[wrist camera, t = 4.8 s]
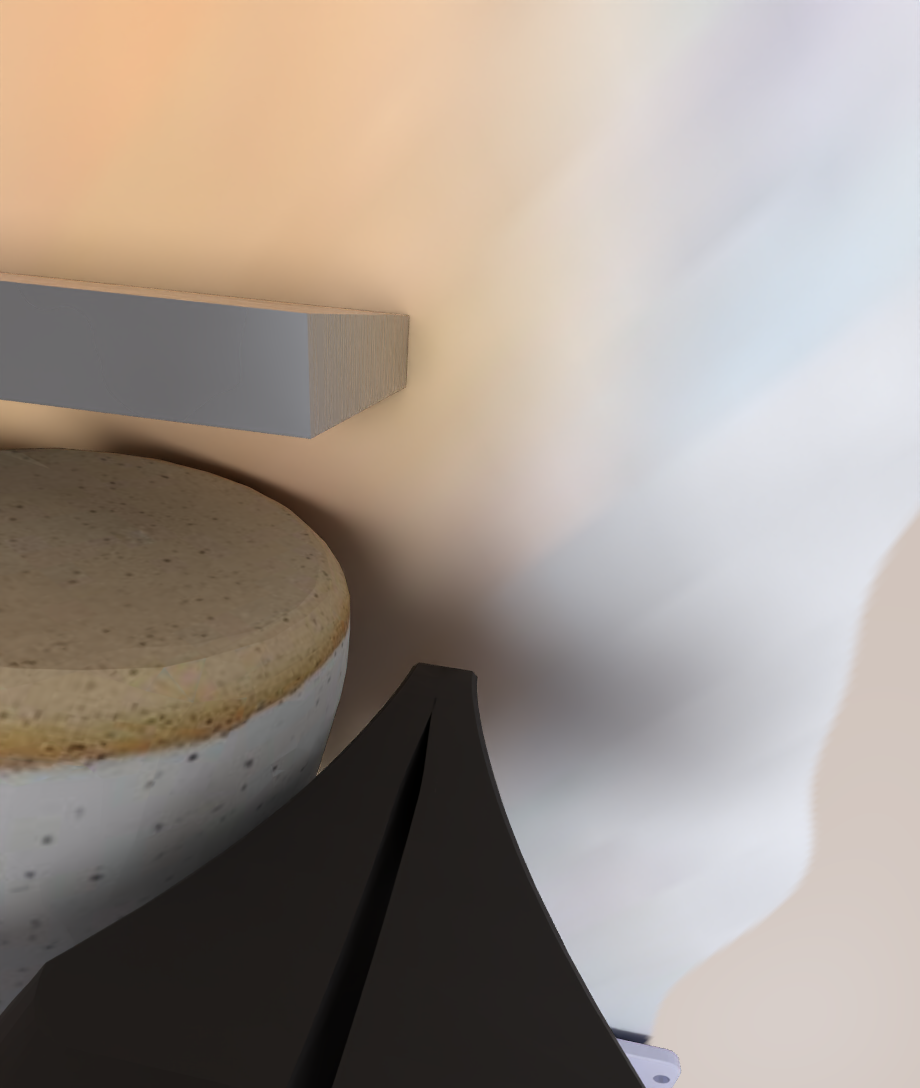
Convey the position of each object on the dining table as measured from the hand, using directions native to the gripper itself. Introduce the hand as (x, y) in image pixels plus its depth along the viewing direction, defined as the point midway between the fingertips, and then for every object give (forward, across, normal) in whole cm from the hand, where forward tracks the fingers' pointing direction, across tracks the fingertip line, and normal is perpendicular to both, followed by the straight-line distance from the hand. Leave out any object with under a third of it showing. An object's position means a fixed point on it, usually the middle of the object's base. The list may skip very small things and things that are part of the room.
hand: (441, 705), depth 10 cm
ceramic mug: (+2, +7, 0) cm, 7 cm away
